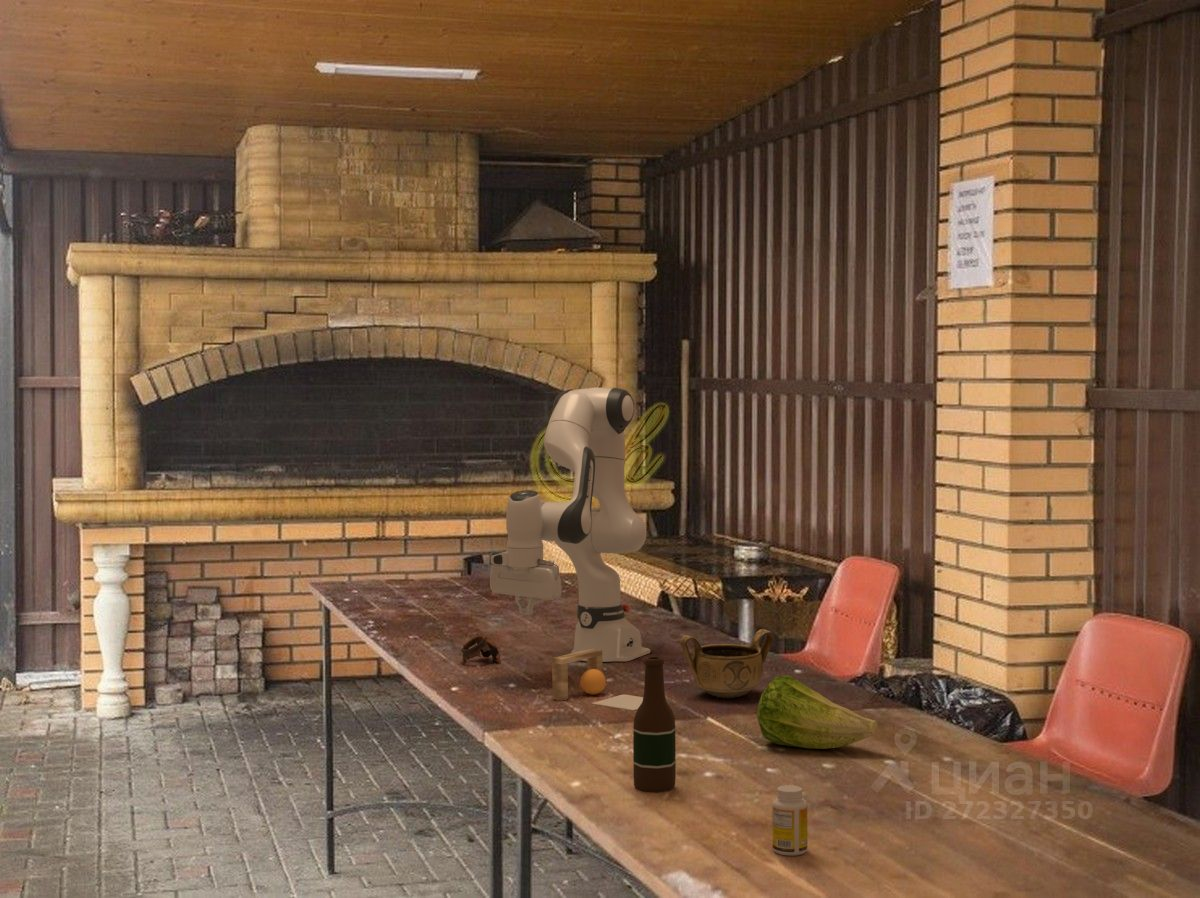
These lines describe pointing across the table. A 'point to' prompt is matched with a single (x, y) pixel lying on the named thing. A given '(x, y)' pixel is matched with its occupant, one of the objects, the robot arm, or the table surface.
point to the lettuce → (807, 717)
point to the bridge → (562, 669)
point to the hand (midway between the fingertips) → (526, 614)
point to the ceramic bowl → (728, 665)
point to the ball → (593, 681)
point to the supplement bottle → (789, 821)
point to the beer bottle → (654, 734)
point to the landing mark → (622, 702)
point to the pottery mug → (480, 649)
